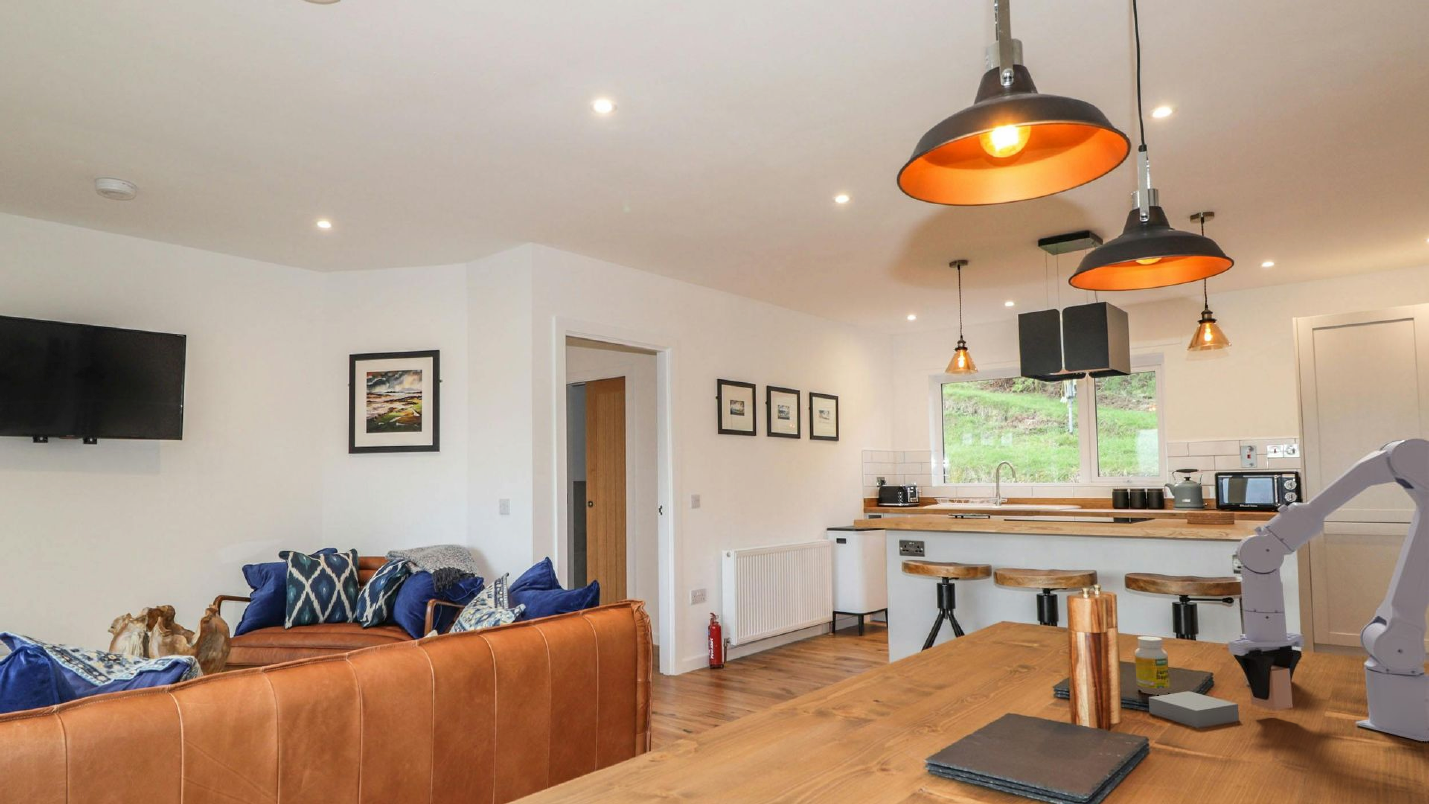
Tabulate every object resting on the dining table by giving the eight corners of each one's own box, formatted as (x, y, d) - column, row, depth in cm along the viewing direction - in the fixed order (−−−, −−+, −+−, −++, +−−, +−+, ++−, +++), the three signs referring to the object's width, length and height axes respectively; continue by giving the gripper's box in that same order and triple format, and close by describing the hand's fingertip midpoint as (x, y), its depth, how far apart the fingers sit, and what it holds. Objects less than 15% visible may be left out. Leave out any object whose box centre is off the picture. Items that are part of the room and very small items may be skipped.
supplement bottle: (1147, 687, 157) (1143, 634, 158) (1176, 692, 152) (1172, 638, 153) (1131, 691, 154) (1127, 637, 155) (1160, 697, 149) (1156, 642, 150)
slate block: (1239, 723, 135) (1237, 703, 135) (1197, 730, 132) (1196, 710, 132) (1190, 709, 143) (1188, 691, 144) (1149, 715, 140) (1148, 697, 140)
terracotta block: (1292, 707, 135) (1289, 668, 135) (1275, 710, 133) (1271, 671, 134) (1268, 701, 138) (1265, 663, 139) (1251, 704, 137) (1248, 666, 137)
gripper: (1271, 603, 143) (1278, 685, 142) (1209, 610, 138) (1215, 696, 137) (1313, 609, 137) (1321, 695, 136) (1249, 616, 132) (1257, 706, 130)
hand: (1271, 696), depth 136 cm, fingers closed on terracotta block, 4 cm apart
